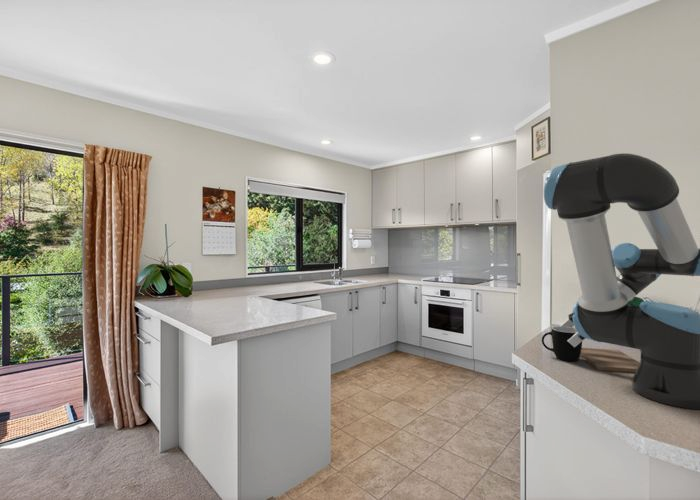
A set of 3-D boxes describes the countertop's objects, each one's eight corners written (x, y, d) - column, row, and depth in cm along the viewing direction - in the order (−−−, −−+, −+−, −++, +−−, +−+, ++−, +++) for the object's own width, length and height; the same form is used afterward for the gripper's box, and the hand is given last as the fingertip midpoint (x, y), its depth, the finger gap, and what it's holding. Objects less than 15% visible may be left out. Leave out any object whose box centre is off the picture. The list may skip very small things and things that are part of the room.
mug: (581, 356, 116) (581, 328, 116) (583, 364, 109) (583, 333, 109) (542, 351, 123) (541, 324, 122) (541, 358, 115) (541, 329, 115)
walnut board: (652, 374, 100) (652, 370, 100) (597, 369, 104) (597, 366, 104) (618, 353, 119) (618, 350, 119) (574, 350, 123) (574, 347, 123)
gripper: (644, 311, 99) (587, 358, 104) (606, 298, 123) (561, 337, 127) (623, 293, 101) (567, 340, 105) (589, 284, 124) (545, 322, 129)
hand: (563, 338), depth 116 cm, fingers open, 13 cm apart
